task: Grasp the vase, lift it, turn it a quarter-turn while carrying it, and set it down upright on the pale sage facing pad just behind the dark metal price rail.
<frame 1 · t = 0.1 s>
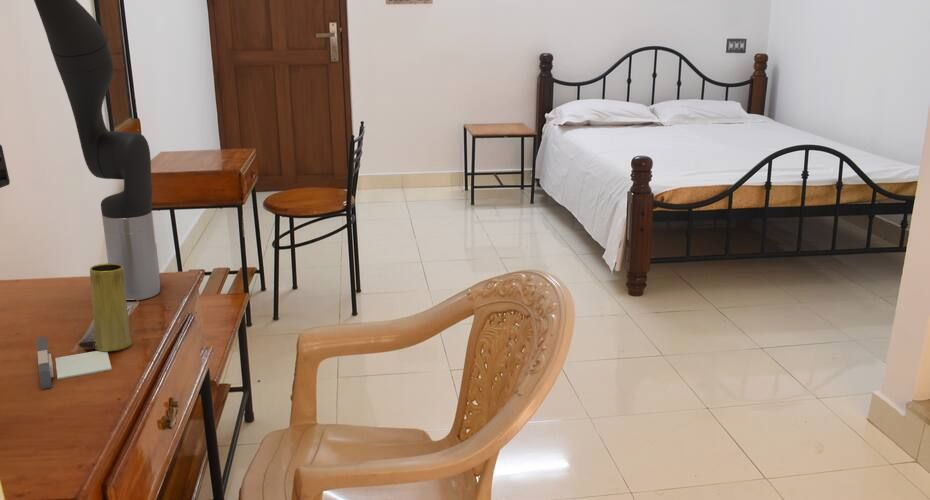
vase: (112, 346, 140), on the table
price rail: (45, 370, 131), on the table
facing pad: (83, 364, 133), on the table
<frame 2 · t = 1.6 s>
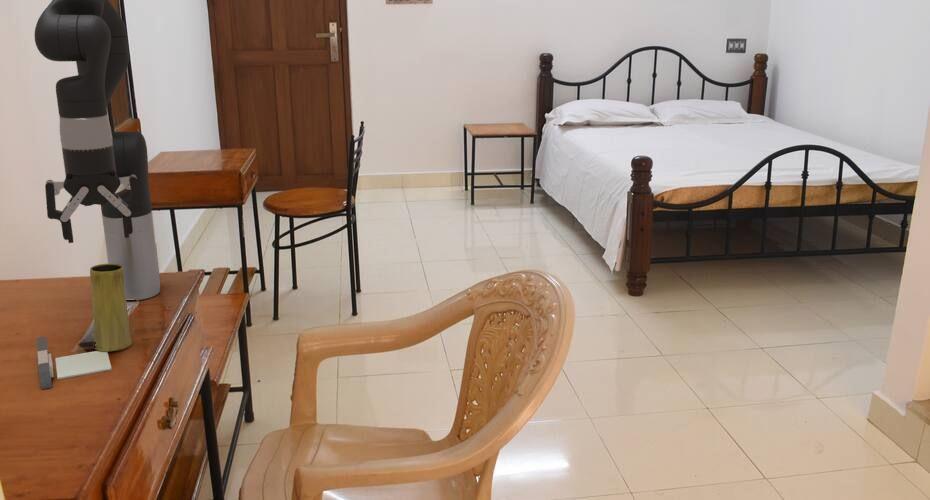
hand: (99, 239, 134), 20 cm above the table, fingers open, 8 cm apart
vase: (112, 346, 140), on the table, touching facing pad
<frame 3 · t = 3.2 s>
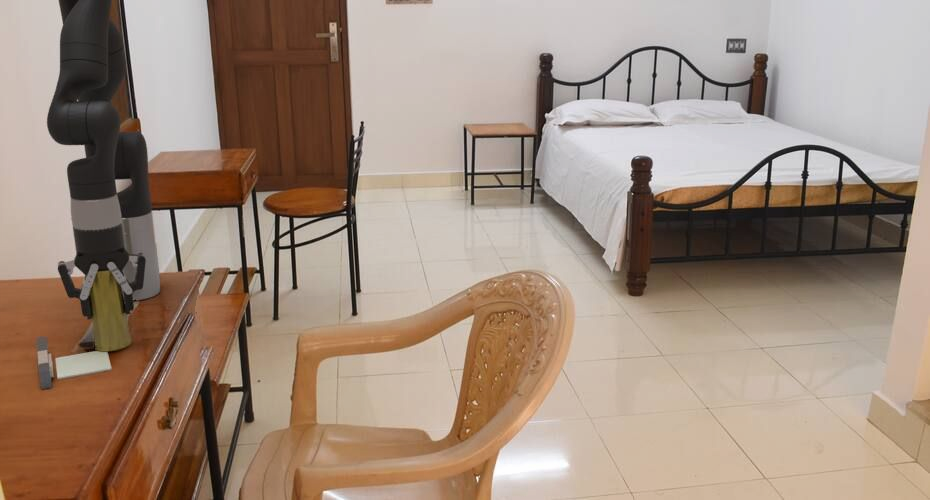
hand: (109, 314, 138), 6 cm above the table, fingers closed on vase, 5 cm apart
vase: (113, 346, 140), on the table, touching facing pad, gripper
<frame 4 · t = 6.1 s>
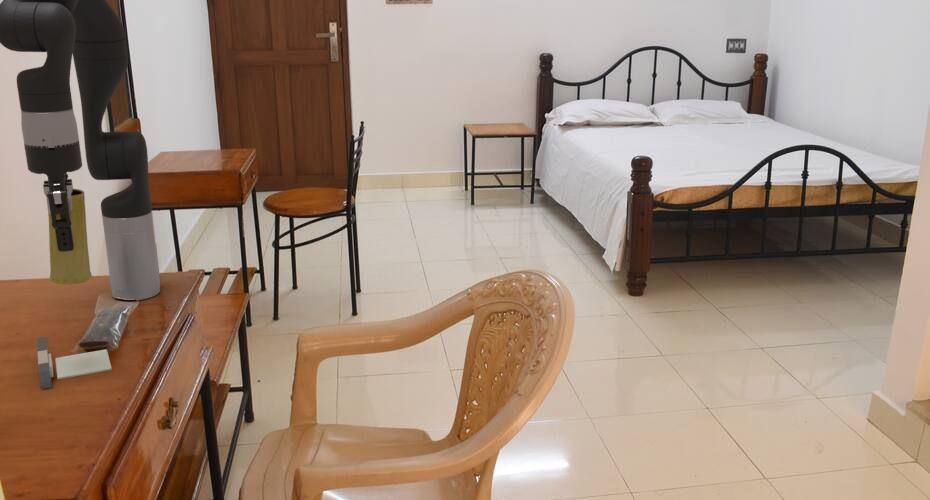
hand: (66, 244, 127), 21 cm above the table, fingers closed on vase, 5 cm apart
vase: (71, 279, 129), point 15 cm above the table, touching gripper
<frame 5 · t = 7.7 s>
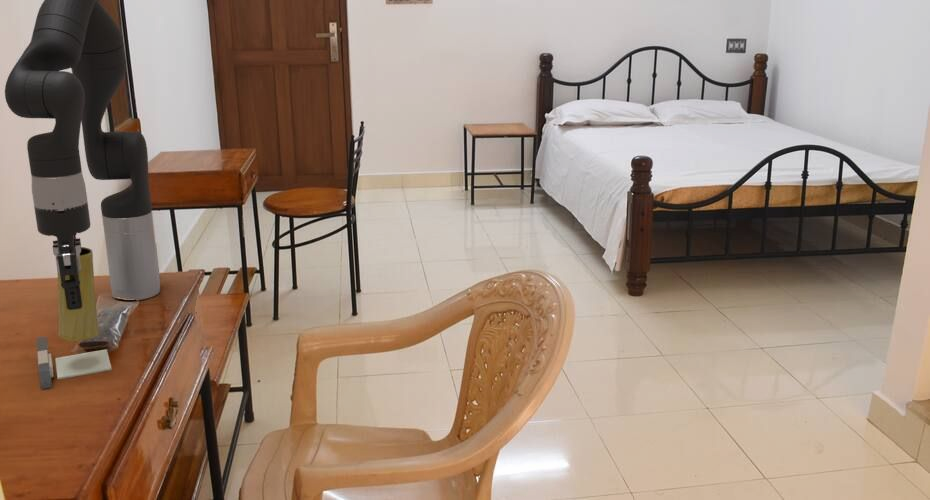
hand: (74, 301, 130), 11 cm above the table, fingers closed on vase, 5 cm apart
vase: (79, 335, 132), point 5 cm above the table, touching gripper
when the fingers open (8 cm above the table, at t = 9.0 s): vase drops 2 cm, resting on facing pad.
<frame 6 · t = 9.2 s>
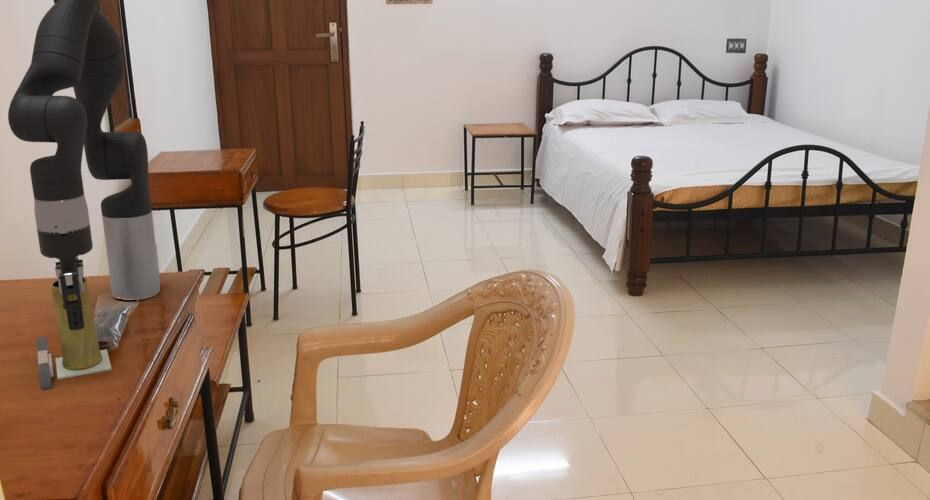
hand: (76, 319, 131), 8 cm above the table, fingers open, 7 cm apart
vase: (82, 362, 134), resting on facing pad
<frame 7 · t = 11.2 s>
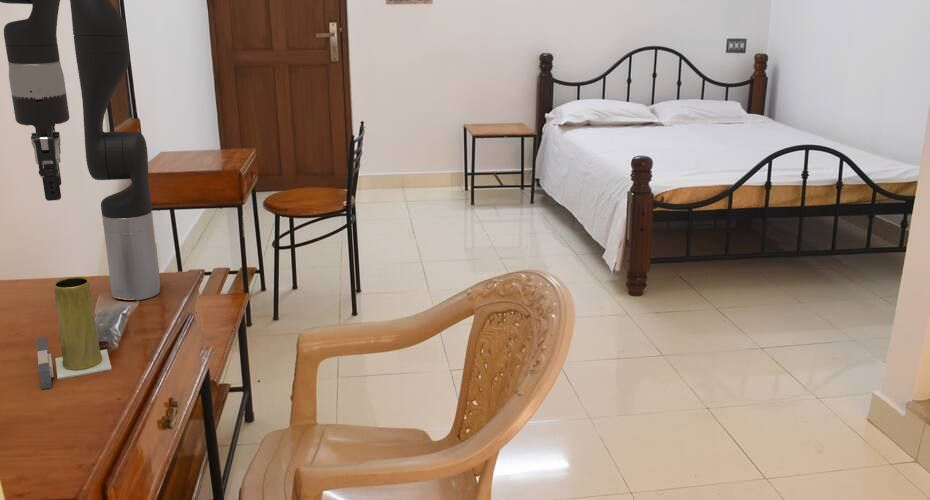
hand: (54, 192, 129), 28 cm above the table, fingers open, 8 cm apart
nothing on the table moved.
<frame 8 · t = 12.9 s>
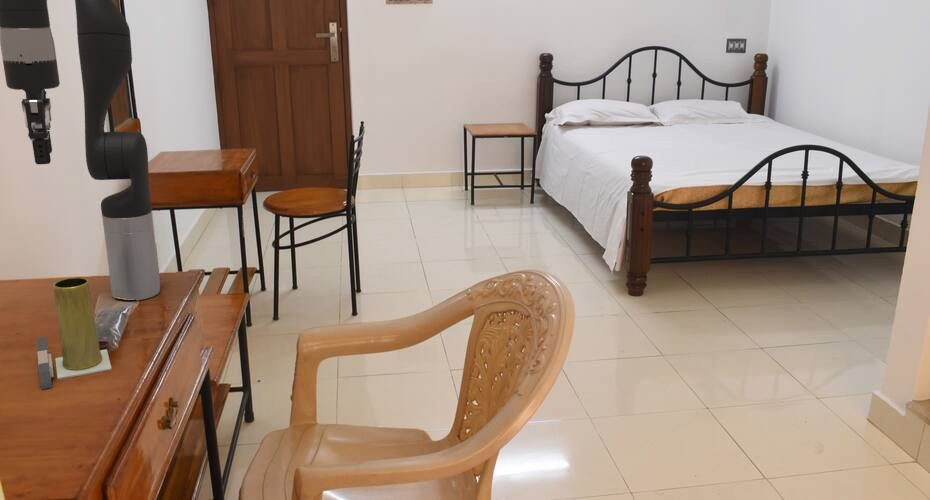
hand: (44, 158, 131), 33 cm above the table, fingers open, 8 cm apart
nothing on the table moved.
at the end: vase 0.4 cm from the facing pad (horizontally); vase tilted 0°; the gripper is holding nothing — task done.
